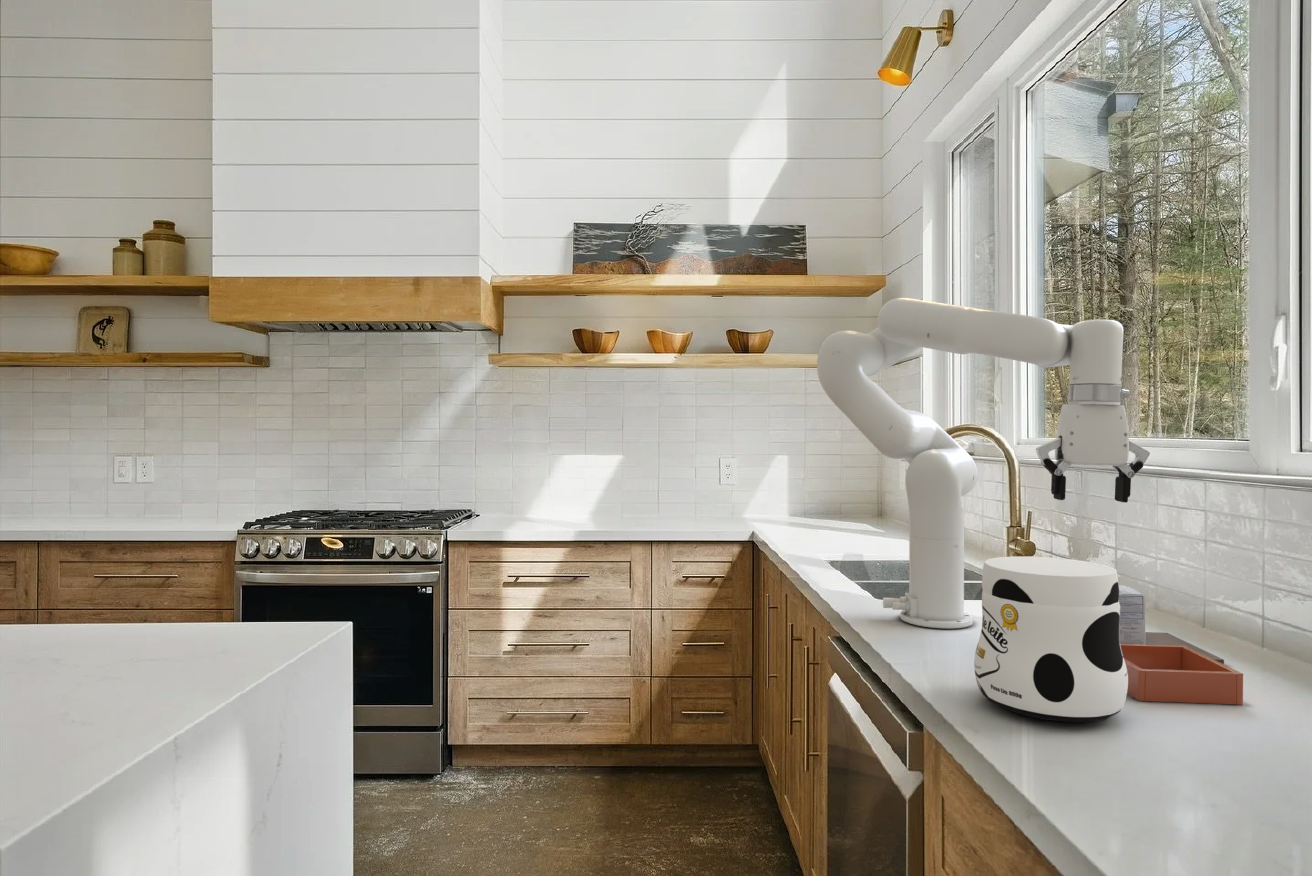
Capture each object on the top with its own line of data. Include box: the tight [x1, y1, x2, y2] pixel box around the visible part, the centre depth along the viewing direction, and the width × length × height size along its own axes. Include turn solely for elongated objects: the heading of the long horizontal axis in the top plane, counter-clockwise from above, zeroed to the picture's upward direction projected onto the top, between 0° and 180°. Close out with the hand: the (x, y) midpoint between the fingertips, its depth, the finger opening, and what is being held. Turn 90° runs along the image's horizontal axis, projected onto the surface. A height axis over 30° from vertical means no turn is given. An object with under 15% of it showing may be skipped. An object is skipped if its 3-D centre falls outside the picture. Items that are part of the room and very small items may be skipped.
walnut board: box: [1145, 631, 1225, 665], centre depth 127 cm, size 22×16×1 cm
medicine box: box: [1119, 584, 1146, 644], centre depth 127 cm, size 8×4×9 cm, turn 169°
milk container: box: [973, 555, 1128, 723], centre depth 100 cm, size 17×17×18 cm
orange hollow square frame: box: [1120, 644, 1244, 706], centre depth 109 cm, size 13×14×4 cm
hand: (1089, 500), depth 131 cm, fingers open, 9 cm apart
